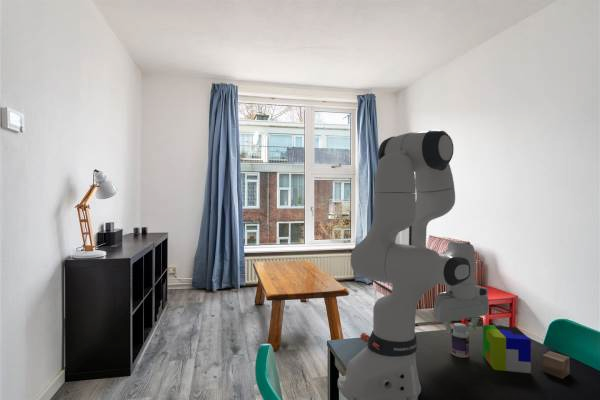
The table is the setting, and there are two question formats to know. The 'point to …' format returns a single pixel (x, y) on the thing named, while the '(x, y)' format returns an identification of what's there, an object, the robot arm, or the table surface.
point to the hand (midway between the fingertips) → (461, 331)
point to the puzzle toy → (507, 348)
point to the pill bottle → (460, 341)
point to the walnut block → (556, 364)
